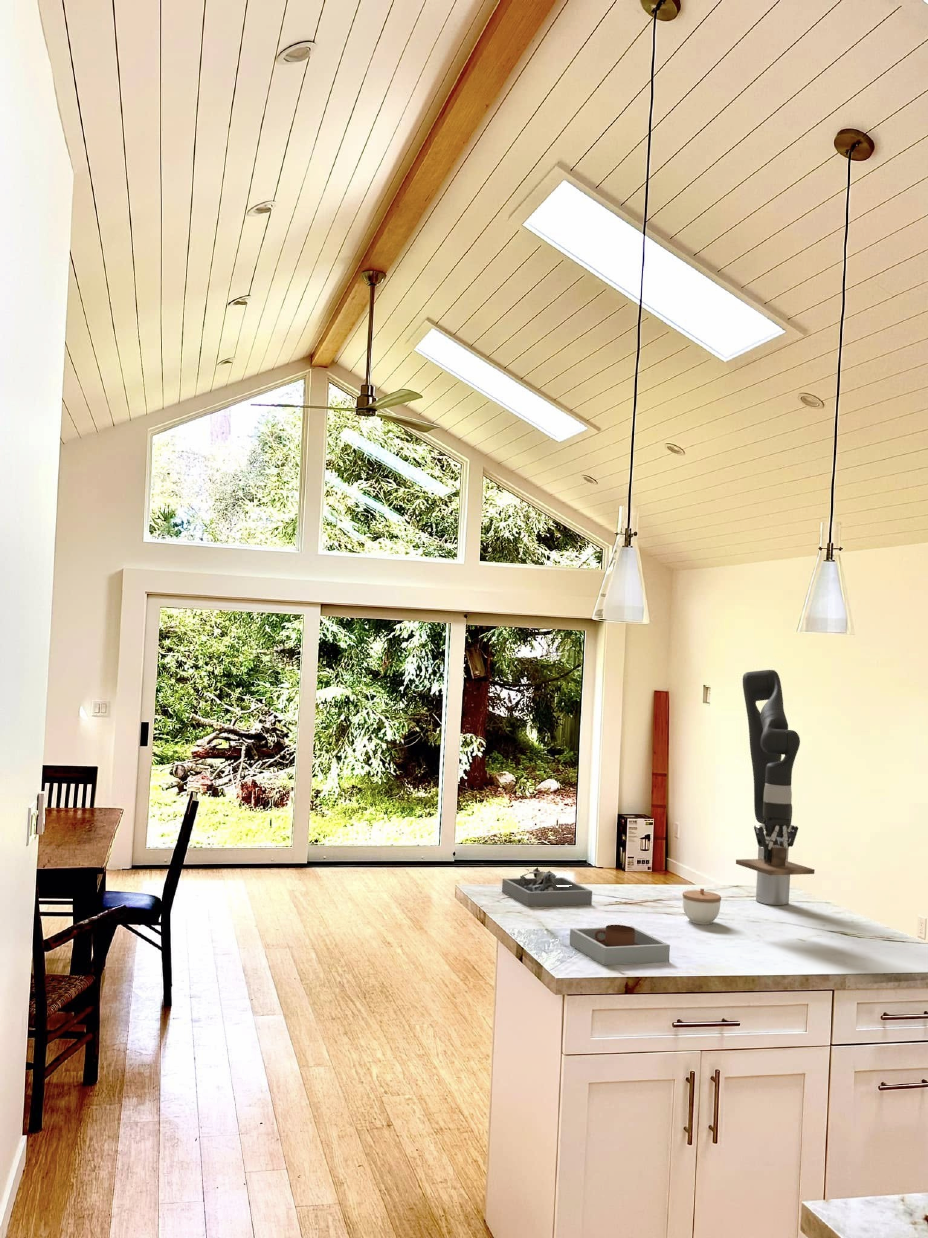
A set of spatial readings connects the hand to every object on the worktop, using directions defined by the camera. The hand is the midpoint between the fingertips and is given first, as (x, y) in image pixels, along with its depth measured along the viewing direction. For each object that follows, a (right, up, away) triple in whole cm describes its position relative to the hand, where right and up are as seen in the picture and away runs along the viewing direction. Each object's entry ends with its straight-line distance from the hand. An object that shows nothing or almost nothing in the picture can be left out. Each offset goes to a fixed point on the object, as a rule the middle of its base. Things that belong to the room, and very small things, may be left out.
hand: (774, 861), depth 291 cm
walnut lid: (0, -2, 0) cm, 2 cm away
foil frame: (-62, -17, +25) cm, 69 cm away
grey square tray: (-49, -15, -32) cm, 60 cm away
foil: (-64, -17, +26) cm, 71 cm away
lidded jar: (-19, -19, +6) cm, 28 cm away
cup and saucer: (-48, -16, -32) cm, 60 cm away
